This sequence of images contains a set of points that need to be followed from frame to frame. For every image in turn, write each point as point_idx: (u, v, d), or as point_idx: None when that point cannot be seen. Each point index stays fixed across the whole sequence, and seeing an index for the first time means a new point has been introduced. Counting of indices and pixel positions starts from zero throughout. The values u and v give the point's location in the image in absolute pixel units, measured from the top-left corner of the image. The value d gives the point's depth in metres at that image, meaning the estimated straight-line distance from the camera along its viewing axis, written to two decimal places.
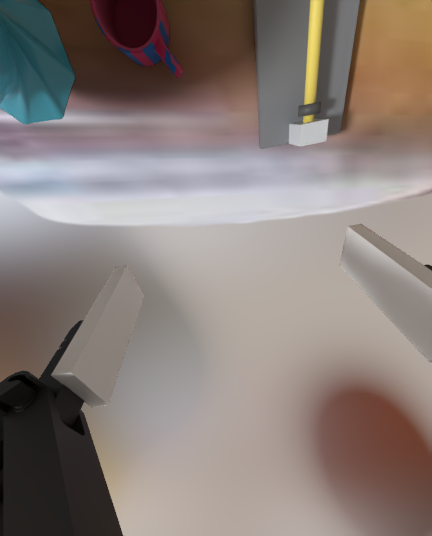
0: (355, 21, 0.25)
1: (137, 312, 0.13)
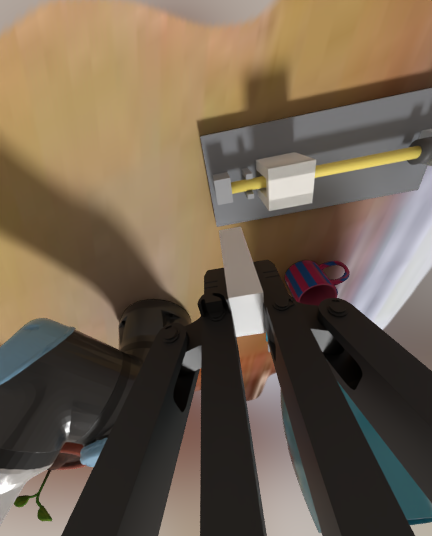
0: (354, 106, 0.24)
1: None
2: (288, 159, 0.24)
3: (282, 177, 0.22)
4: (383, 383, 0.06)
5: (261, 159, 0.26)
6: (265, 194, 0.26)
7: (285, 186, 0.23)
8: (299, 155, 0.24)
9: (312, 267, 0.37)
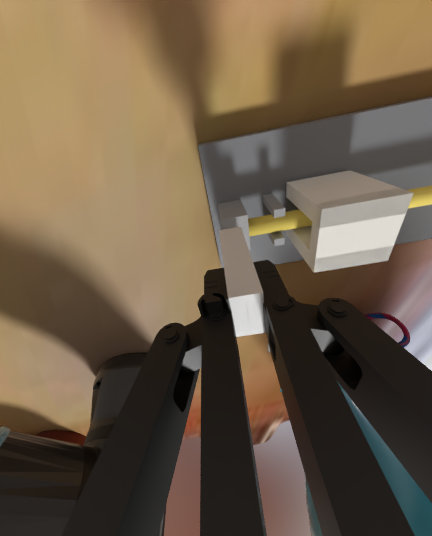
0: None
1: None
2: (349, 186, 0.14)
3: (345, 222, 0.12)
4: (383, 383, 0.06)
5: (296, 182, 0.16)
6: (304, 240, 0.16)
7: (348, 236, 0.13)
8: (365, 178, 0.14)
9: None
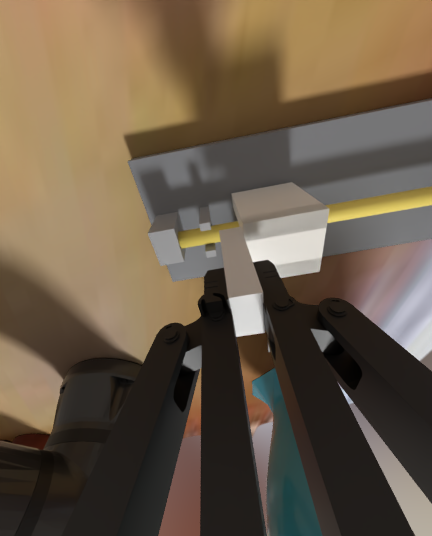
0: (376, 114, 0.15)
1: None
2: (280, 200, 0.14)
3: (269, 236, 0.13)
4: (383, 383, 0.06)
5: (239, 193, 0.17)
6: None
7: (274, 249, 0.13)
8: (299, 192, 0.15)
9: None
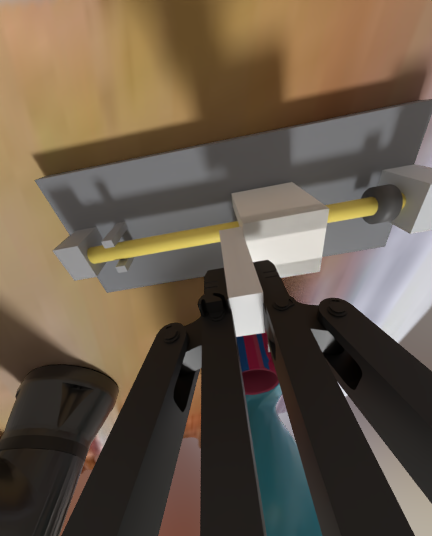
0: (271, 135, 0.15)
1: None
2: (280, 200, 0.14)
3: (269, 236, 0.13)
4: (383, 383, 0.06)
5: (239, 193, 0.17)
6: None
7: (274, 249, 0.13)
8: (299, 191, 0.15)
9: (251, 336, 0.28)
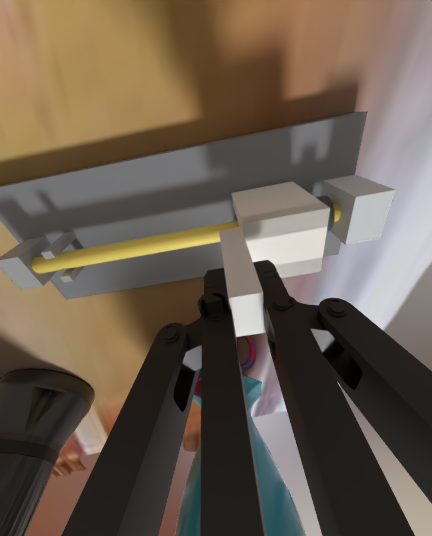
0: (206, 147, 0.15)
1: None
2: (281, 199, 0.14)
3: (269, 236, 0.13)
4: (383, 383, 0.06)
5: (239, 193, 0.17)
6: None
7: (275, 249, 0.13)
8: (299, 191, 0.15)
9: None
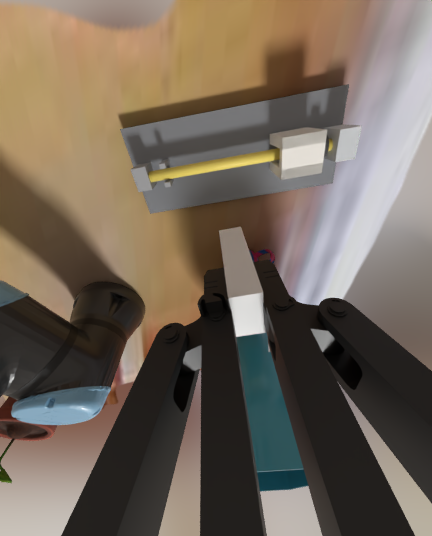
0: (256, 104, 0.27)
1: None
2: (301, 131, 0.26)
3: (295, 146, 0.24)
4: (383, 383, 0.06)
5: (275, 133, 0.28)
6: (278, 165, 0.28)
7: (297, 155, 0.25)
8: (311, 128, 0.26)
9: None
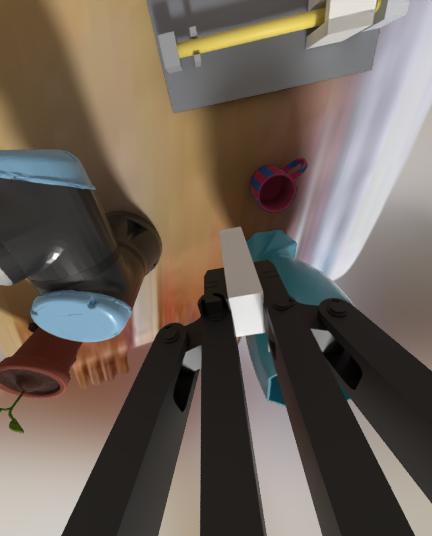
0: None
1: None
2: None
3: None
4: (383, 383, 0.06)
5: None
6: None
7: None
8: None
9: (273, 167, 0.37)
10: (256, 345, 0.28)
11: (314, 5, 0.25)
